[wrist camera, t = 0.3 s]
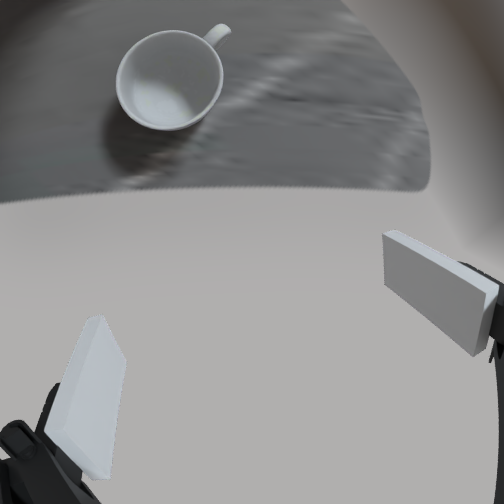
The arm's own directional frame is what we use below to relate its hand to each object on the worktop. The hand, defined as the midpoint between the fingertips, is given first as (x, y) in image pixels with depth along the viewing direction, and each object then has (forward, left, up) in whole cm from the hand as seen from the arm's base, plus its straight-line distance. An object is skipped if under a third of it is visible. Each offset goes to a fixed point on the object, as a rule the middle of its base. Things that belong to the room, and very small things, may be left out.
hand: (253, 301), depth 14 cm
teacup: (-15, 0, -28) cm, 32 cm away
